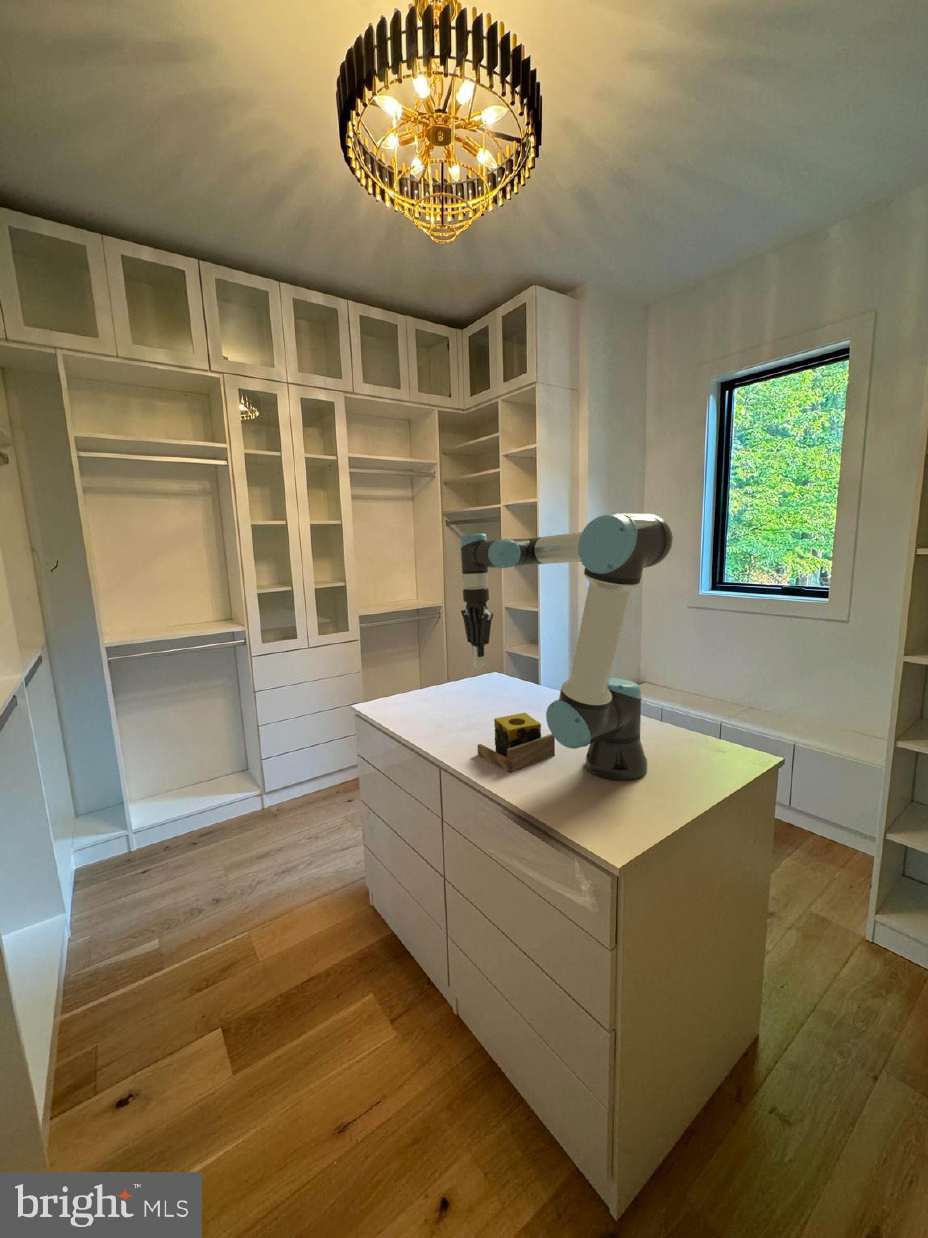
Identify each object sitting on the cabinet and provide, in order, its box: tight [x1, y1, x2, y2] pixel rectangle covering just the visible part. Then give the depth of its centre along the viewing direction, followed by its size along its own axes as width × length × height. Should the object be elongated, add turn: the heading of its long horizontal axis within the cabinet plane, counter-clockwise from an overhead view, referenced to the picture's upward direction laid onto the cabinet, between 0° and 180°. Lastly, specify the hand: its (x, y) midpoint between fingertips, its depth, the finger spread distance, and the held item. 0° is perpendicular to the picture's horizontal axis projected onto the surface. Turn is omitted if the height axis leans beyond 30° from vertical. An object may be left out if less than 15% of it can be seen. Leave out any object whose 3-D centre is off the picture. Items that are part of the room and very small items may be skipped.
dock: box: [477, 733, 556, 773], centre depth 137 cm, size 14×16×6 cm
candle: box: [493, 712, 542, 757], centre depth 137 cm, size 10×10×10 cm
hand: (478, 666), depth 147 cm, fingers closed
